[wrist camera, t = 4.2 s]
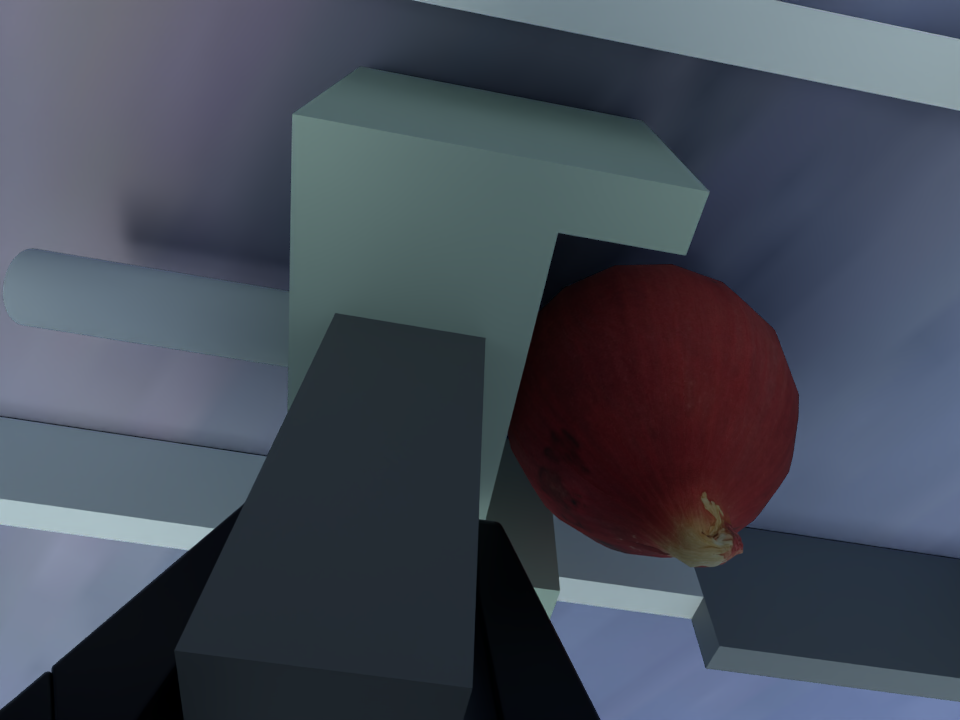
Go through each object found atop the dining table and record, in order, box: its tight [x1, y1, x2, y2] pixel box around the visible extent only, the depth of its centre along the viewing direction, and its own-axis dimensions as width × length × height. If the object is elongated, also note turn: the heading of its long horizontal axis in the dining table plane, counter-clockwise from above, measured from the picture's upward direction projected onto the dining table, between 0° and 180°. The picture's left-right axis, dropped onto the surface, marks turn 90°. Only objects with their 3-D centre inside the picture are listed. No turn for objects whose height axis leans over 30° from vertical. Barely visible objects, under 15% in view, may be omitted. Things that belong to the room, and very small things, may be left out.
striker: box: [3, 66, 710, 720], centre depth 11 cm, size 10×12×11 cm
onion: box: [508, 264, 799, 567], centre depth 13 cm, size 6×6×8 cm
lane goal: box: [0, 0, 960, 702], centre depth 13 cm, size 15×34×7 cm, turn 80°
